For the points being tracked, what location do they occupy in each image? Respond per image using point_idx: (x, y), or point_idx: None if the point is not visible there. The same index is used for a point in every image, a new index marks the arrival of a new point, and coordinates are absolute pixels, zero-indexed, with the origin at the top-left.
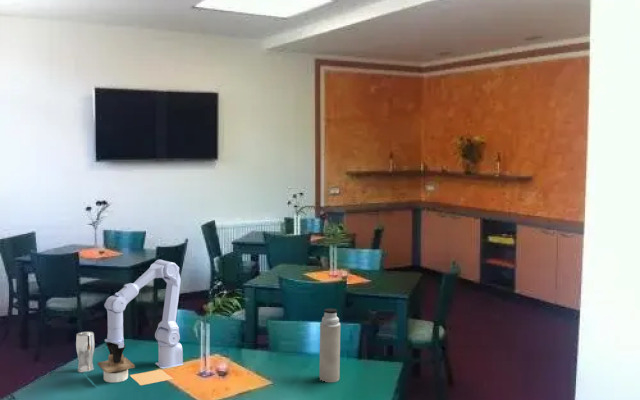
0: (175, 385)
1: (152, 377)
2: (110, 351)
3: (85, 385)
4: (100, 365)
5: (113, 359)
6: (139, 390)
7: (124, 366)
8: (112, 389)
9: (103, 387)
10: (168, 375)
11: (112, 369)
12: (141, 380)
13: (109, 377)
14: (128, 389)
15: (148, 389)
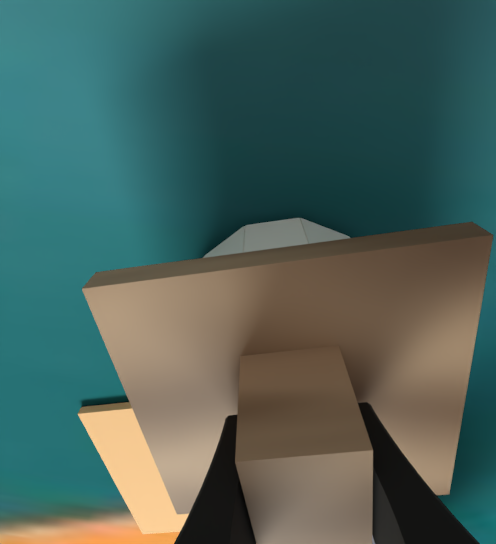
0: (64, 520)
1: None
2: (398, 537)
3: (240, 18)
4: (343, 252)
5: None
6: (13, 391)
7: (165, 454)
8: (61, 250)
9: (126, 190)
10: None
11: (110, 354)
12: None
13: None
14: (42, 343)
15: (24, 429)
